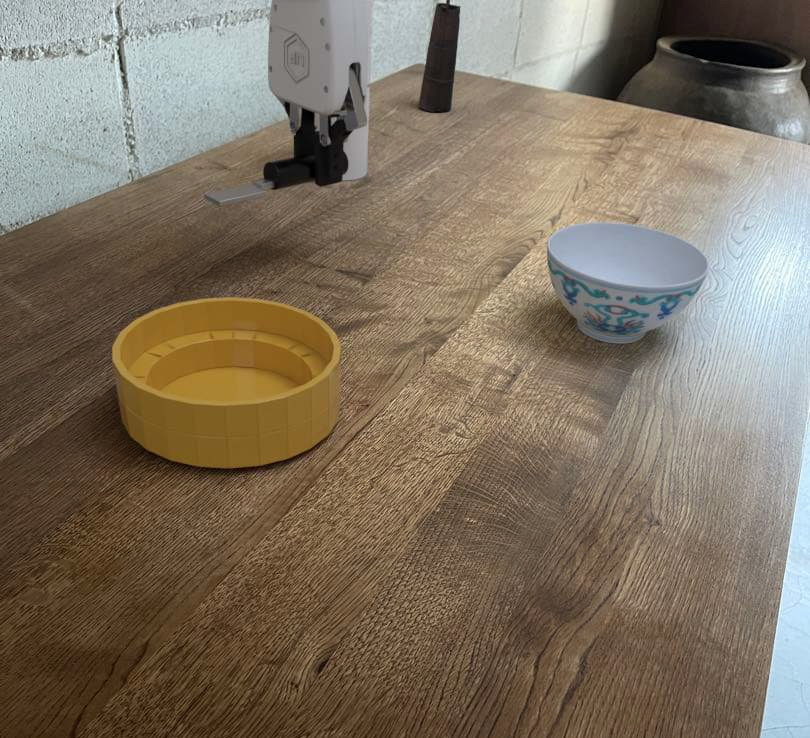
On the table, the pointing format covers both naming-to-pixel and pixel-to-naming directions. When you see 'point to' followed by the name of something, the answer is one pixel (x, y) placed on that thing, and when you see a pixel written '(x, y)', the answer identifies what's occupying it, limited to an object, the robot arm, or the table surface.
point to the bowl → (228, 381)
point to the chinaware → (623, 277)
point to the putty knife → (272, 179)
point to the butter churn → (441, 59)
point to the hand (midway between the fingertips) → (318, 177)
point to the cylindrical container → (359, 138)
